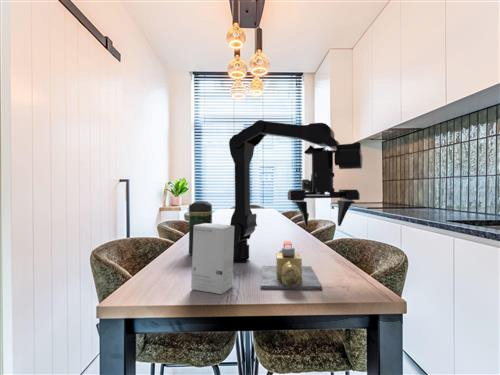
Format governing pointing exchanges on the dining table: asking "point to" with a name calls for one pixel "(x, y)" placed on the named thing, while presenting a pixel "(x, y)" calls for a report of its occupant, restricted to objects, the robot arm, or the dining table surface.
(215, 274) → the skincare box
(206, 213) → the coffee jar
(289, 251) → the lever
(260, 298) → the dining table surface
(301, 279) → the valve body
